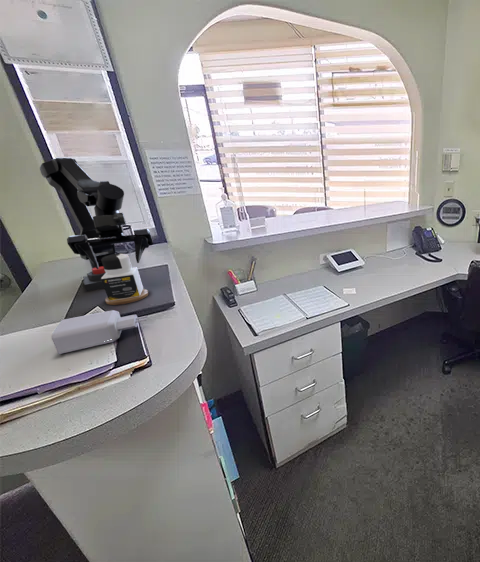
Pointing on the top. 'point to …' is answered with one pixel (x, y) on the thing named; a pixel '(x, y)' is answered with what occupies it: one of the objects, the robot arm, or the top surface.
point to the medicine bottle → (120, 278)
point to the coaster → (129, 300)
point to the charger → (91, 330)
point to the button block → (93, 281)
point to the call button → (98, 270)
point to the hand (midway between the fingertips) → (118, 265)
